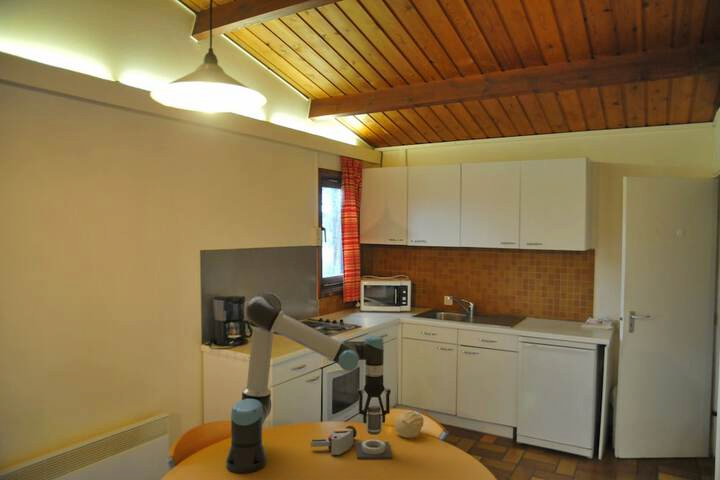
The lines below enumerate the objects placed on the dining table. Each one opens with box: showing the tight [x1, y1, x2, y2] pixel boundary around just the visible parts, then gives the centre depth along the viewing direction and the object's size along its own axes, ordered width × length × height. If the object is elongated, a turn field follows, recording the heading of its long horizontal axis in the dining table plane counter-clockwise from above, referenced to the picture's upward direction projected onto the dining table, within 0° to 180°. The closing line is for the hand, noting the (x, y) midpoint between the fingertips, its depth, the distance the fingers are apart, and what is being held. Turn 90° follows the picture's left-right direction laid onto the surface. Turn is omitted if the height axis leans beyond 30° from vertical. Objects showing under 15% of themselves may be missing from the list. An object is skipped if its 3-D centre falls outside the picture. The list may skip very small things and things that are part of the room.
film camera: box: [310, 425, 358, 456], centre depth 209 cm, size 7×19×15 cm
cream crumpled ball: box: [394, 410, 424, 439], centre depth 221 cm, size 12×12×11 cm
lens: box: [367, 405, 382, 436], centre depth 204 cm, size 5×5×10 cm
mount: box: [355, 439, 393, 460], centre depth 204 cm, size 14×14×3 cm
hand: (374, 430), depth 204 cm, fingers closed on lens, 5 cm apart
